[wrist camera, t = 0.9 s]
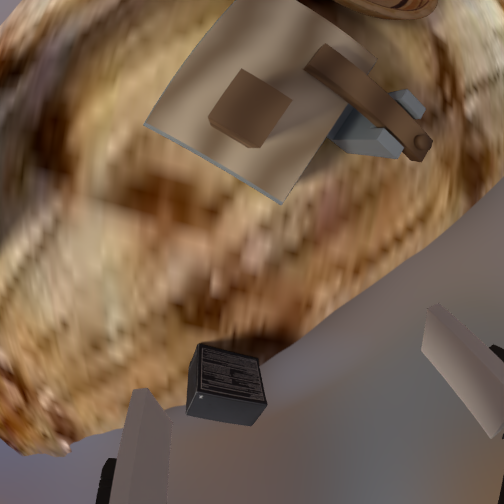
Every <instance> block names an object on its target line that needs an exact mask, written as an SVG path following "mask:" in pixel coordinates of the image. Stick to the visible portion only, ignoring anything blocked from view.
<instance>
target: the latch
mask: <svg viewBox="0 0 504 504" xmlns="http://www.w3.org/2000/svg"><path fill="white" fill-rule="evenodd" d="M303 70H305V71H306V72H307V73H309V74H310V75H312V76H313V77H315V78H316V79H317V80H319V81H320V82H322V83H323V84H324V85H326V86H327V87H328V88H330V89H331V90H332V91H334V92H335V93H336V94H338V95H339V96H340V97H341V98H343V99H344V100H345V101H346V102H348V103H349V104H350V105H351V106H353V107H354V108H355V109H356V110H357V111H359V112H360V113H361V114H362V115H363V116H364V117H366V118H367V119H368V120H369V121H370V122H371V123H372V124H374V125H375V126H376V127H377V128H384V129H386V130H387V131H388V132H389V133H390V134H391V135H392V136H393V137H394V138H395V139H396V140H397V141H398V142H399V143H400V144H401V145H402V146H403V147H404V149H403V151H402V152H403V153H404V154H405V155H406V156H407V157H408V158H409V159H410V160H411V161H417V162H422V161H423V159H424V157H425V155H426V154H427V152H428V150H430V149H431V146H432V142H433V140H432V139H431V138H430V137H429V136H428V135H427V133H426V132H425V131H424V130H423V129H422V128H421V127H420V126H419V125H418V123H417V122H416V121H415V120H414V119H413V118H412V117H411V116H410V115H409V114H408V113H407V112H406V111H405V110H404V109H403V108H402V107H401V106H400V105H399V104H398V103H397V102H396V101H395V100H394V99H393V98H392V97H391V96H390V95H389V94H388V93H387V92H385V91H384V90H383V89H382V88H381V87H380V86H379V85H378V84H377V83H376V82H374V81H373V80H372V79H371V78H370V77H369V76H367V75H366V74H365V73H364V72H363V71H361V70H360V69H359V68H358V67H357V66H355V65H354V64H353V63H352V62H350V61H349V60H348V59H347V58H345V57H344V56H343V55H341V54H340V53H339V52H337V51H336V50H335V49H333V48H332V47H330V46H329V45H328V44H326V43H325V44H324V45H322V46H321V47H320V48H319V49H318V50H317V52H316V53H315V54H314V55H313V57H312V58H311V59H310V61H309V62H308V63H307V65H306V66H305V68H304V69H303Z"/></svg>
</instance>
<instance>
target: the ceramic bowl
mask: <svg viewBox="0 0 504 504" xmlns="http://www.w3.org/2000/svg"><path fill="white" fill-rule="evenodd" d="M333 1H335V2H337V3H338V4H340V5H342V6H345V7H347V8H349V9H351V10H354V11H356V12H359V13H362V14H365V15H368V16H372V17H377V18H381V19H392V20H402V19H420V18H423V17H426V16H428V15H429V14H430V13H432V12H433V11H434V9H435V8H436V6H437V3H438V0H333Z"/></svg>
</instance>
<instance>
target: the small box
mask: <svg viewBox="0 0 504 504" xmlns="http://www.w3.org/2000/svg"><path fill="white" fill-rule="evenodd" d="M266 407H267V401H266V397H265V393H264V388H263V383H262V378H261V373H260V368H259V361H258V358H255V357H250V356H246V355H242V354H238V353H234V352H229V351H226V350H222V349H218V348H214V347H210V346H206V345H203V344H198V345H197V347H196V350H195V353H194V356H193V358H192V361H191V362H190V365H189V372H188V387H187V402H186V415H189V416H193V417H198V418H203V419H209V420H214V421H219V422H225V423H232V424H238V425H246V426H252V425H253V424H254V423H255V421H256V420H257V419H258V417H259V416H260V415H261V413H262V412H263V411H264V409H265V408H266Z"/></svg>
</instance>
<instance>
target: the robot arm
mask: <svg viewBox="0 0 504 504" xmlns="http://www.w3.org/2000/svg"><path fill="white" fill-rule="evenodd" d="M421 351H422V352H423V353H424V355H425V356H426V357H427V358H428V359H429V360H430V362H431V363H432V364H433V365H434V366H435V368H436V369H437V370H438V371H439V372H440V374H441V375H442V376H443V377H444V379H445V380H446V381H447V382H448V383H449V385H450V386H451V387H452V388H453V390H454V391H455V392H456V394H457V395H458V396H459V397H460V399H461V400H462V401H463V402H464V403H465V405H466V406H467V408H468V409H469V410H470V412H471V413H472V414H473V416H474V417H475V418H476V420H477V421H478V422H479V424H480V425H481V426H482V428H483V429H484V430H485V432H486V433H487V434H488V436H489V437H490V439H492V438H493V437H494V436H495V435H496V434H498V433H499V432H500V431H501V430H502V429H503V428H504V349H502V348H500V347H498V346H496V345H492V346H491V347H489V348H488V347H487V346H486V345H485V344H484V343H483V342H482V341H481V340H480V339H479V338H478V337H477V336H476V335H474V334H473V333H472V332H471V331H470V330H469V329H468V328H467V327H466V326H465V325H463V324H462V323H461V322H460V321H459V320H458V319H457V318H456V317H455V316H453V315H452V314H451V313H450V312H449V311H448V310H446V309H445V308H444V307H443V306H442V305H441V304H439V303H438V304H436V305H434V306H431V307H429V308H427V315H426V323H425V330H424V336H423V343H422V349H421ZM171 433H172V421H171V420H170V418H169V417H168V416H167V414H166V413H165V412H164V410H163V409H162V407H161V406H160V405H159V403H158V402H157V401H156V399H155V398H154V396H153V395H152V393H151V392H150V390H149V389H148V388H142V389H134V390H133V392H132V396H131V400H130V404H129V408H128V412H127V416H126V420H125V425H124V429H123V433H122V438H121V442H120V447H119V452H118V457H117V459H115V458H108V460H107V461H106V463H105V465H104V466H103V469H102V473H101V480H100V483H99V488H98V493H97V499H96V504H167V488H168V471H169V456H170V445H171ZM502 439H504V434H503V437H502ZM498 504H504V476H503V482H502V487H501V492H500V496H499V500H498Z"/></svg>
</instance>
